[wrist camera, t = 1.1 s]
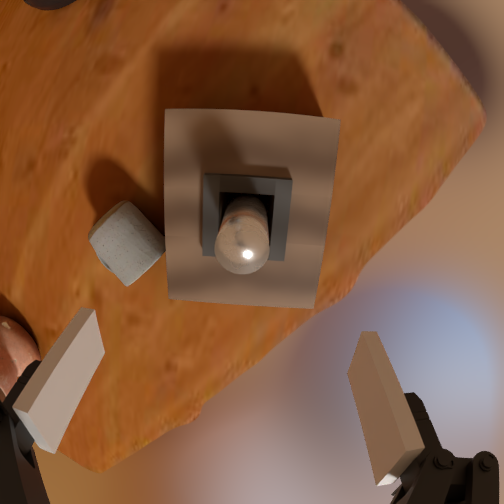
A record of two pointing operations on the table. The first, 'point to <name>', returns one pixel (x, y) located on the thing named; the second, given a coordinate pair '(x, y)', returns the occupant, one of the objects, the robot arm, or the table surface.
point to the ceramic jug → (14, 353)
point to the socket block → (255, 182)
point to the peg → (243, 236)
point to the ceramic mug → (126, 242)
